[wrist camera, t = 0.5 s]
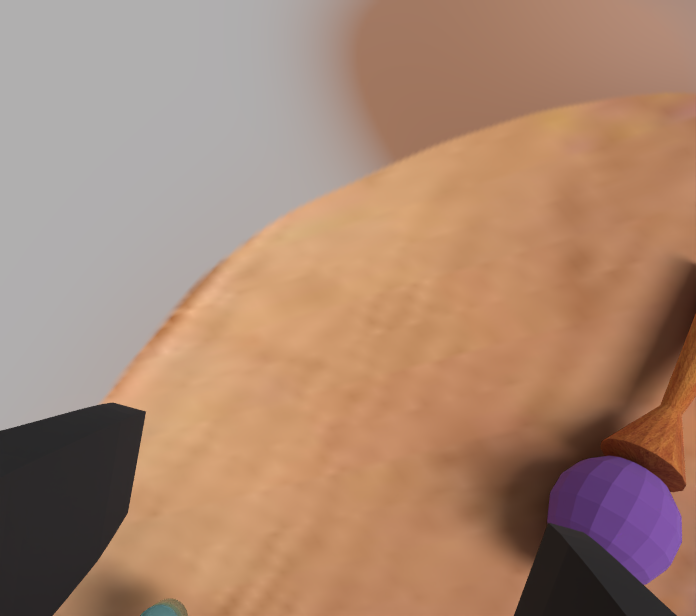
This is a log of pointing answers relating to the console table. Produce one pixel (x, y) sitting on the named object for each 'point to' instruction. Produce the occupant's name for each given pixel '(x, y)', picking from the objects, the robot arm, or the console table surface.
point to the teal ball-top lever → (166, 609)
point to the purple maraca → (634, 482)
